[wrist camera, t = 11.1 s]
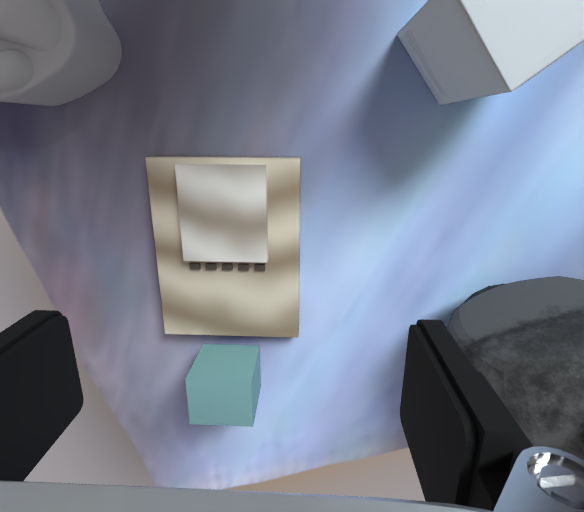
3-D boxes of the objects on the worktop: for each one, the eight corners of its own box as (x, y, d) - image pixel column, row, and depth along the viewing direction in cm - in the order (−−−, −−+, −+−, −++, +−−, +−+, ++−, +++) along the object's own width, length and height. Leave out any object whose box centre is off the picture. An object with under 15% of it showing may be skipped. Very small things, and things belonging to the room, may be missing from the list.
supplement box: (438, 108, 34) (507, 97, 22) (394, 33, 33) (443, -22, 21) (515, 52, 33) (634, 8, 21) (473, -30, 31) (576, -129, 19)
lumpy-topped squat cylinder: (135, 71, 35) (80, 53, 26) (17, 128, 37) (-68, 127, 28) (74, -58, 32) (-9, -123, 23) (-51, 11, 34) (-167, -26, 26)
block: (202, 344, 40) (185, 379, 35) (259, 345, 40) (251, 381, 35) (205, 384, 42) (189, 424, 36) (260, 385, 42) (253, 426, 36)
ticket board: (153, 156, 37) (140, 158, 34) (300, 157, 36) (299, 159, 33) (171, 324, 42) (161, 338, 40) (298, 327, 42) (297, 342, 39)
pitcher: (581, 336, 41) (1213, 820, 12) (404, 385, 44) (582, 870, 15) (565, 243, 38) (1356, 600, 9) (376, 303, 41) (532, 715, 12)
